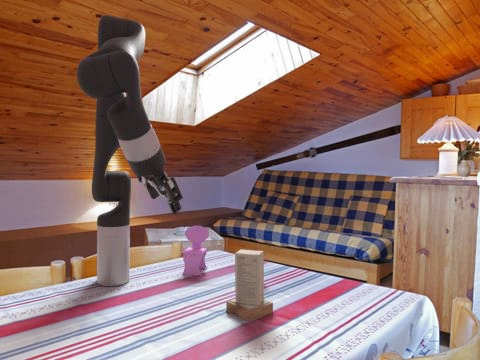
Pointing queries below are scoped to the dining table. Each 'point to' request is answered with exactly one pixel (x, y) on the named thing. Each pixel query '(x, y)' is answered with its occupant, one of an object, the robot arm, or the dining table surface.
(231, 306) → the wooden framed mirror
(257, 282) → the skincare box
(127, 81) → the robot arm
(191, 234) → the toy chair
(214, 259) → the dining table surface
